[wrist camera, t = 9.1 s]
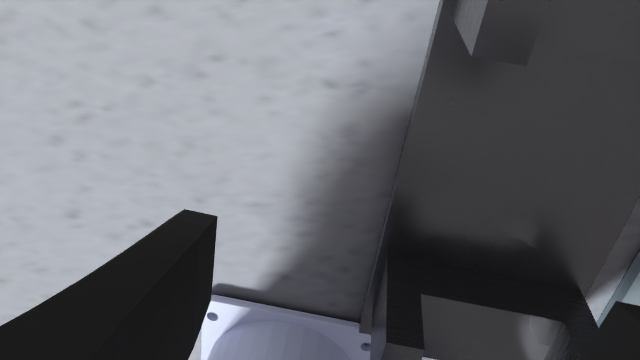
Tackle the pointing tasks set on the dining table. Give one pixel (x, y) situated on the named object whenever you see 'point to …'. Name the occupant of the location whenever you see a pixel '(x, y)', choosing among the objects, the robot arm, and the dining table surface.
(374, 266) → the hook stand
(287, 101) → the dining table surface
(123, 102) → the dining table surface
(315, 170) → the dining table surface
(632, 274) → the mat
